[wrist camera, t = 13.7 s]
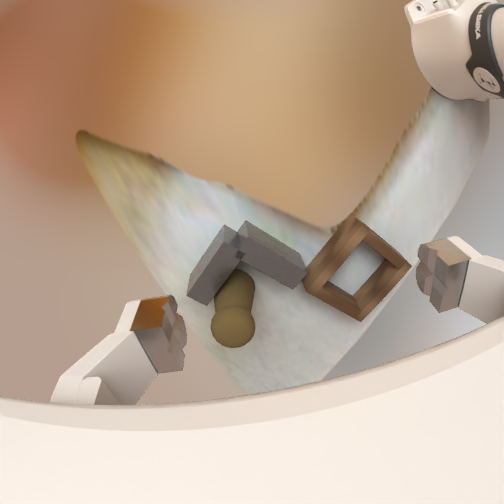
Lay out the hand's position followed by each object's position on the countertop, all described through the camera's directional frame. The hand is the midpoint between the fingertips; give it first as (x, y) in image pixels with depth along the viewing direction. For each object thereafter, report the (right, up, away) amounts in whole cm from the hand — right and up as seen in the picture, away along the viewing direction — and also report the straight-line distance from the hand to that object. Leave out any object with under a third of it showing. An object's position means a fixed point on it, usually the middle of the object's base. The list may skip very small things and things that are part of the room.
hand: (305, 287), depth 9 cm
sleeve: (+13, -1, +34) cm, 37 cm away
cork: (-4, -4, +35) cm, 35 cm away
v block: (-3, +1, +32) cm, 32 cm away
